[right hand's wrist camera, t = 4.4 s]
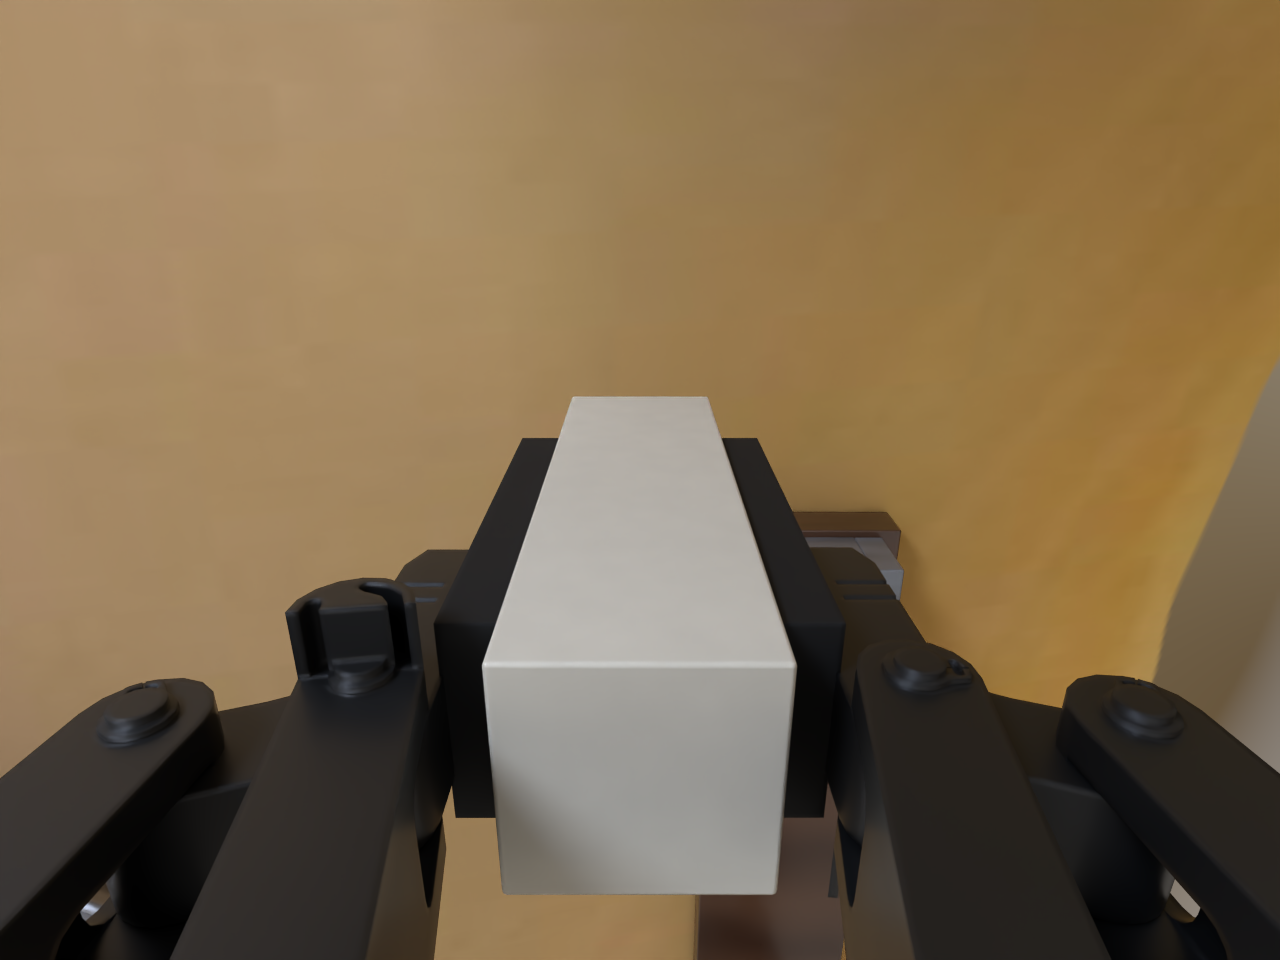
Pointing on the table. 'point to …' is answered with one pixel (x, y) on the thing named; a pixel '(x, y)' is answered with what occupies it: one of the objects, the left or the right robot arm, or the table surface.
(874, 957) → the right robot arm
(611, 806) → the peg
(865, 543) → the peg board
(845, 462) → the table surface
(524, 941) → the table surface
